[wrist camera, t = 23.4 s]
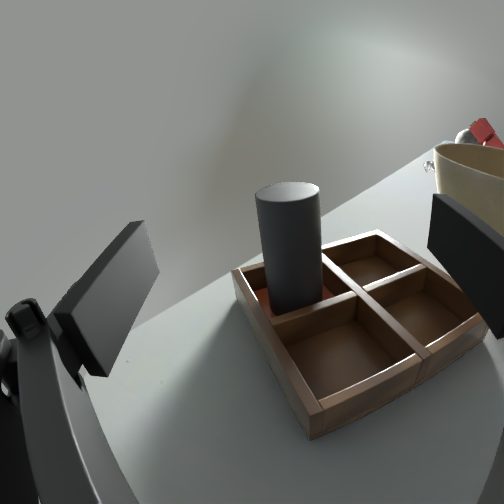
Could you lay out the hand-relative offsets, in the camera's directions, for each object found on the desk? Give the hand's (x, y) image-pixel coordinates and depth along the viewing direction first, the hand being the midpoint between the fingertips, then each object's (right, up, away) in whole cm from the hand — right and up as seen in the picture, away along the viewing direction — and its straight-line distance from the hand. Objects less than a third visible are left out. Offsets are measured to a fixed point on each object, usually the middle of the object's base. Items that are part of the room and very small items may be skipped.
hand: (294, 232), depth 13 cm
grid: (+7, -7, +11) cm, 15 cm away
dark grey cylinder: (+2, -5, +13) cm, 14 cm away
